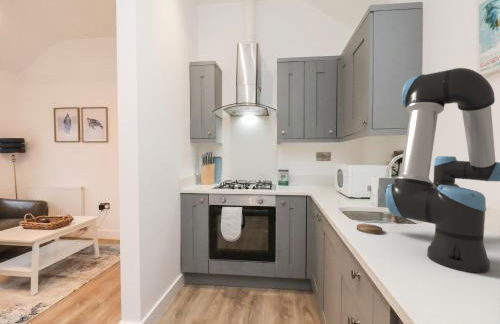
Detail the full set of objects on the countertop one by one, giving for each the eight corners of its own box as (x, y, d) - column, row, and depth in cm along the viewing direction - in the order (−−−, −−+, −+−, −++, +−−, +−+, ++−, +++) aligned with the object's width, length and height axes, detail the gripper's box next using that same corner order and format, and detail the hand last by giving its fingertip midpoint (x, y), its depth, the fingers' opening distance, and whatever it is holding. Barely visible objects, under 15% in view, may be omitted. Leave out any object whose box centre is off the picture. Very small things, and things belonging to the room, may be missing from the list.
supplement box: (395, 208, 106) (396, 178, 106) (376, 207, 106) (378, 177, 106) (386, 204, 113) (387, 176, 113) (369, 204, 114) (370, 176, 113)
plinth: (387, 234, 106) (387, 230, 106) (364, 233, 105) (364, 230, 105) (373, 227, 116) (373, 223, 116) (352, 226, 115) (352, 223, 115)
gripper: (440, 204, 101) (385, 202, 99) (405, 195, 121) (359, 194, 120) (441, 185, 100) (386, 183, 99) (406, 180, 121) (360, 178, 120)
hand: (371, 189), depth 109 cm, fingers closed on supplement box, 8 cm apart
